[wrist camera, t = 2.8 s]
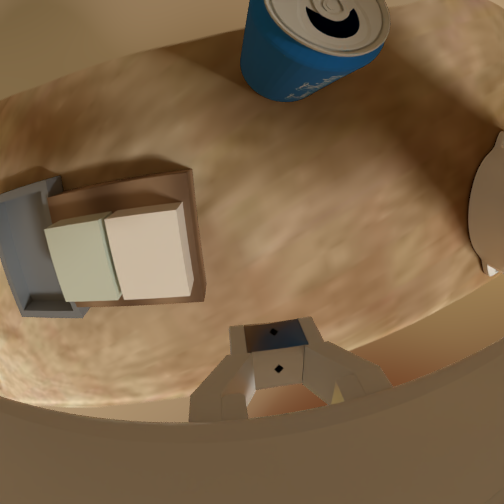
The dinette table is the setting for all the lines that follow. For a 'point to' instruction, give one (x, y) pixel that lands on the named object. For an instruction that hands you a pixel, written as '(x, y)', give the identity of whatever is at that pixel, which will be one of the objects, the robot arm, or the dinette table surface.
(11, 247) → the box
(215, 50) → the dinette table surface
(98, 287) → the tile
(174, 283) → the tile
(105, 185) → the walnut plate
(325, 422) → the robot arm
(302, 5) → the beverage can
